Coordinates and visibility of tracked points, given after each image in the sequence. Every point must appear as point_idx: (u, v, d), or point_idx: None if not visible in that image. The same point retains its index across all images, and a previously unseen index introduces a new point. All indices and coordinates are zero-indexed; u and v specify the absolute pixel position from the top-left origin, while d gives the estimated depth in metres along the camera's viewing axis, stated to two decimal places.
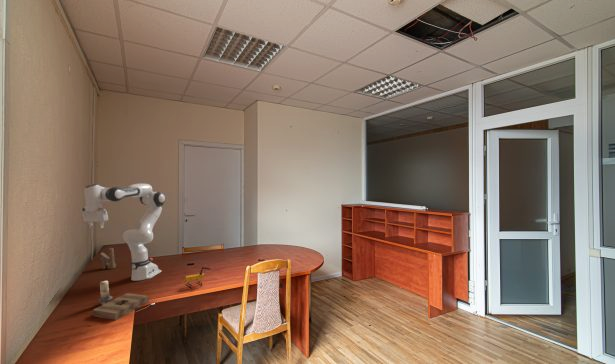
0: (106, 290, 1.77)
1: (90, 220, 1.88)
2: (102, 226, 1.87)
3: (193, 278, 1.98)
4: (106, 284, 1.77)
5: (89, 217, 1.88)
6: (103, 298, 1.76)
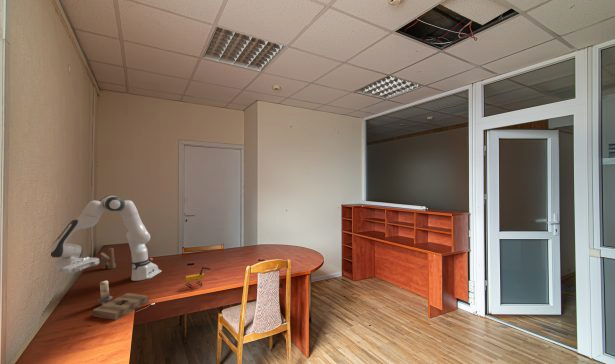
0: (106, 290, 1.77)
1: None
2: (79, 269, 1.76)
3: (193, 278, 1.98)
4: (106, 284, 1.77)
5: None
6: (103, 298, 1.76)
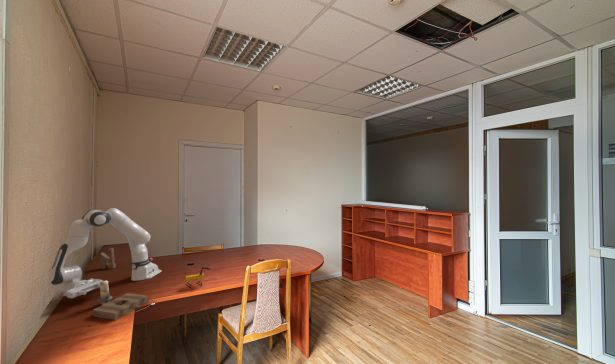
0: (106, 290, 1.77)
1: None
2: (83, 293, 1.76)
3: (193, 278, 1.98)
4: (106, 284, 1.77)
5: None
6: (103, 298, 1.76)
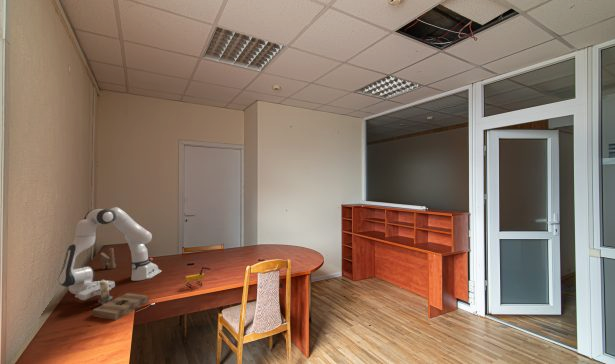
0: (106, 290, 1.77)
1: None
2: (98, 293, 1.74)
3: (193, 278, 1.98)
4: (106, 284, 1.77)
5: None
6: (103, 298, 1.76)
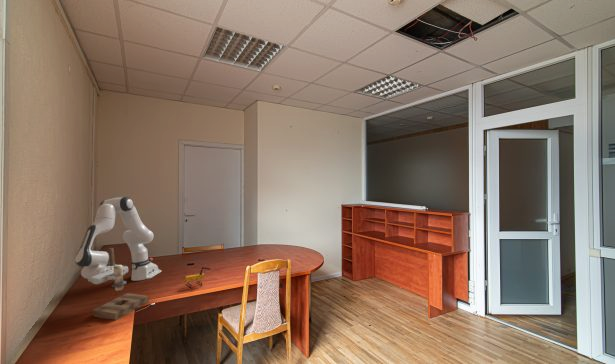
0: (120, 274, 1.69)
1: None
2: (112, 277, 1.67)
3: (193, 278, 1.98)
4: (120, 268, 1.69)
5: None
6: (117, 283, 1.68)
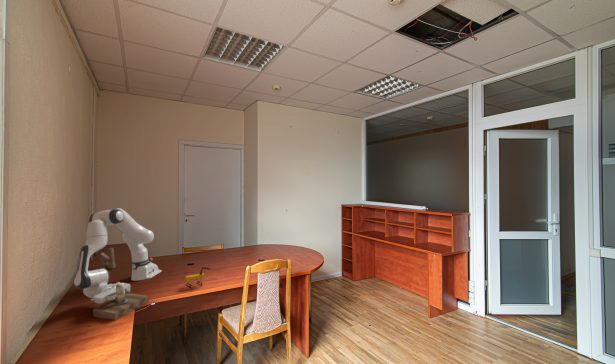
0: (122, 293, 1.69)
1: None
2: (112, 298, 1.65)
3: (193, 278, 1.98)
4: (122, 286, 1.70)
5: None
6: (119, 301, 1.69)
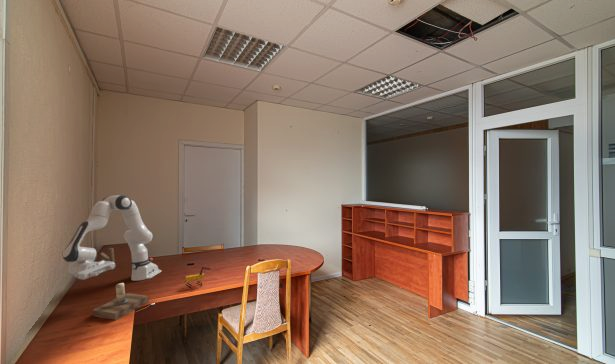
0: (122, 293, 1.69)
1: None
2: (95, 274, 1.69)
3: (193, 278, 1.98)
4: (122, 286, 1.70)
5: None
6: (119, 301, 1.69)
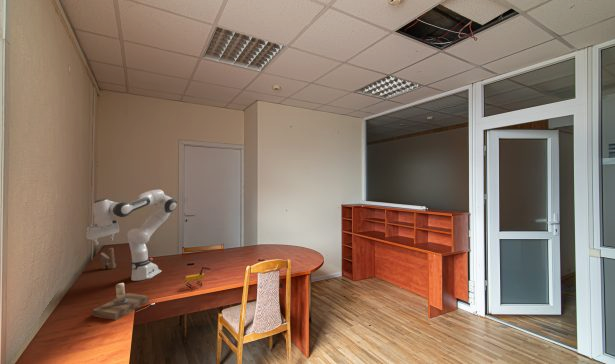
0: (122, 293, 1.69)
1: None
2: (96, 243, 1.84)
3: (193, 278, 1.98)
4: (122, 286, 1.70)
5: None
6: (119, 301, 1.69)
